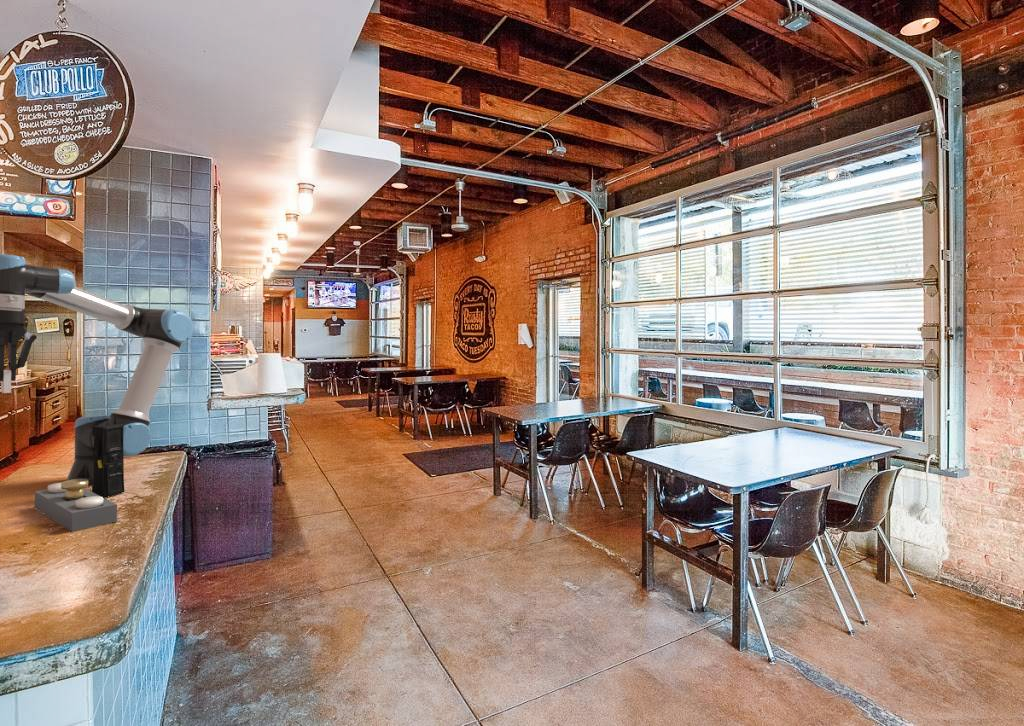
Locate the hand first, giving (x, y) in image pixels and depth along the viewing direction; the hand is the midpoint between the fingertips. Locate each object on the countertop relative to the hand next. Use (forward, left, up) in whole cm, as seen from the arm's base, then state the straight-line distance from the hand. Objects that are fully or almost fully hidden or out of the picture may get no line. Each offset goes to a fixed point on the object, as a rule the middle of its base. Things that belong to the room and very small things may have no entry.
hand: (5, 392), depth 150 cm
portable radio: (-24, +2, -35) cm, 42 cm away
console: (-11, +17, -34) cm, 40 cm away
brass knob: (-11, +17, -31) cm, 37 cm away
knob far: (-11, +28, -34) cm, 45 cm away
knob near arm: (-11, +6, -34) cm, 36 cm away
